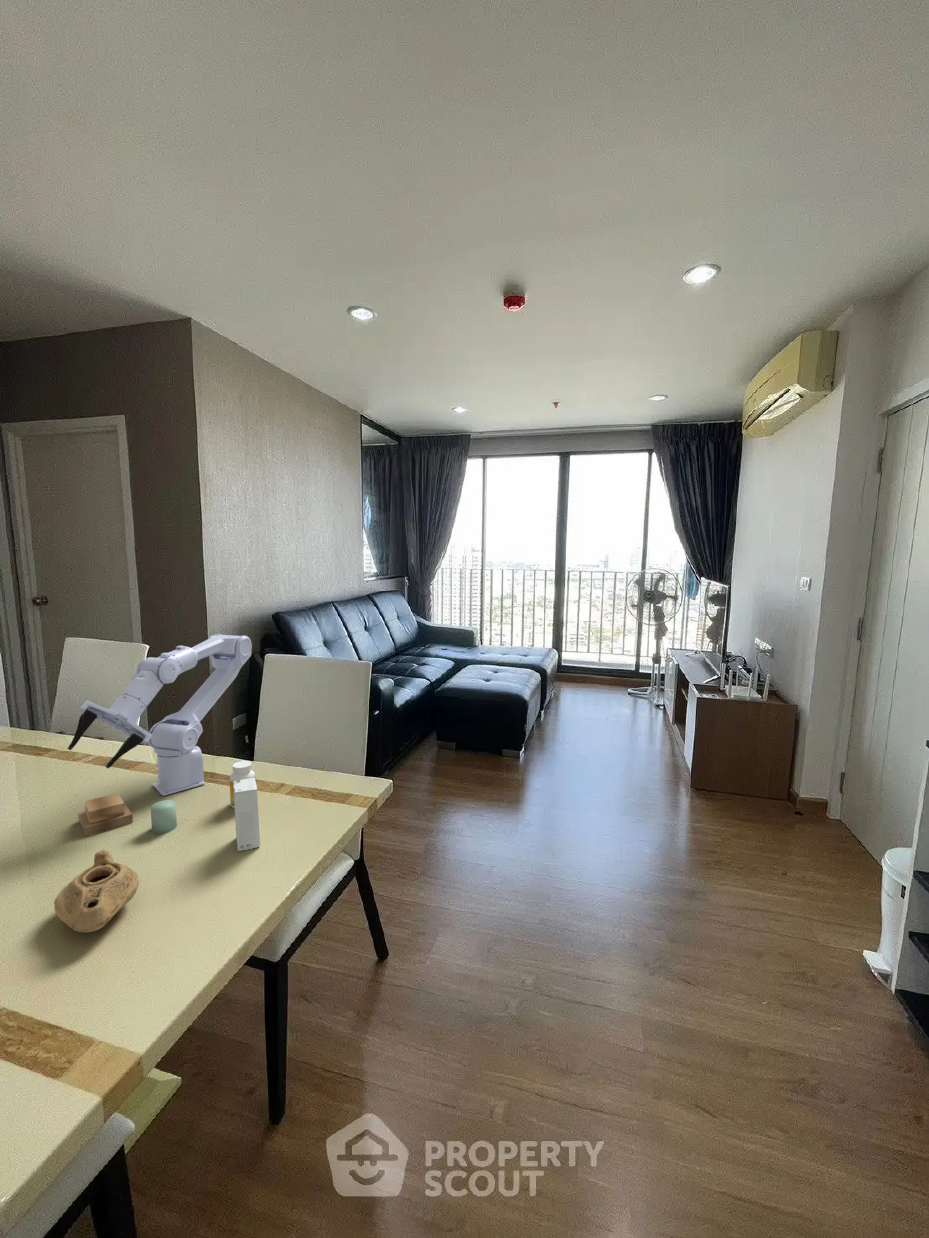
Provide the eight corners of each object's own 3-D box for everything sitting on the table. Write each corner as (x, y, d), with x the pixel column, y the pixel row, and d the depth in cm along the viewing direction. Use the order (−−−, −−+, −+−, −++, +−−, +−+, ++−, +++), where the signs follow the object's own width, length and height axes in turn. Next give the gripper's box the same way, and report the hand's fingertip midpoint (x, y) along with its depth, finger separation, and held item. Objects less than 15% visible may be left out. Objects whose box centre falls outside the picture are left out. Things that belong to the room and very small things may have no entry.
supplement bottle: (236, 798, 120) (235, 759, 119) (259, 798, 120) (258, 759, 119) (226, 809, 115) (225, 768, 114) (250, 809, 115) (249, 769, 114)
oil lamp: (57, 962, 72) (53, 909, 71) (54, 904, 83) (50, 859, 82) (148, 927, 79) (145, 879, 78) (133, 878, 90) (131, 836, 89)
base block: (123, 811, 114) (122, 800, 114) (133, 825, 109) (132, 814, 108) (78, 824, 108) (78, 812, 108) (87, 839, 103) (86, 827, 103)
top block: (119, 803, 112) (118, 792, 112) (124, 814, 108) (123, 803, 108) (85, 812, 108) (84, 801, 108) (89, 823, 104) (88, 811, 104)
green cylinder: (172, 820, 110) (171, 798, 109) (179, 828, 107) (178, 805, 106) (148, 827, 107) (147, 805, 106) (155, 836, 104) (154, 812, 103)
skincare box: (260, 847, 100) (259, 789, 99) (235, 852, 99) (234, 793, 97) (258, 832, 106) (257, 776, 104) (234, 836, 104) (232, 780, 102)
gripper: (105, 678, 107) (56, 734, 97) (169, 714, 113) (130, 770, 103) (96, 689, 111) (49, 743, 102) (159, 723, 117) (120, 777, 108)
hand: (89, 757), depth 103 cm, fingers open, 7 cm apart
